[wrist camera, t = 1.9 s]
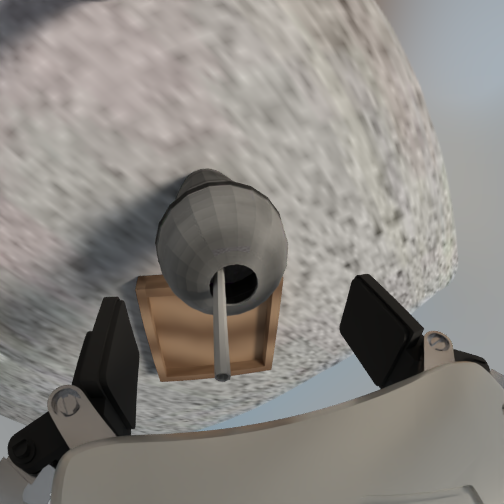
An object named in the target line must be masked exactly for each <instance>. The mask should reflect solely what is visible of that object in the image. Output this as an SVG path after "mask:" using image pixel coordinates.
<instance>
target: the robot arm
mask: <svg viewBox="0 0 504 504" xmlns="http://www.w3.org/2000/svg"><path fill="white" fill-rule="evenodd" d="M423 330H424V328H423V327H422V326H421V325H420V324H419V323H418V322H417V321H416V320H415V319H414V318H413V317H412V315H411V314H410V313H409V312H408V311H407V310H406V309H405V308H404V307H403V306H402V305H401V304H400V303H399V302H398V301H397V300H396V299H395V298H394V297H393V296H391V295H390V294H389V293H388V292H387V291H386V290H385V289H384V288H383V287H382V286H381V285H380V284H379V283H378V282H377V281H376V280H375V279H374V278H373V277H372V276H371V275H369V274H363V275H357V276H356V277H355V278H354V279H353V280H352V282H351V286H350V290H349V294H348V298H347V302H346V305H345V309H344V313H343V316H342V320H341V323H340V333H341V335H342V336H343V338H344V339H345V340H346V342H347V343H348V345H349V346H350V348H351V349H352V351H353V352H354V354H355V355H356V357H357V358H358V360H359V361H360V362H361V364H362V365H363V367H364V368H365V370H366V371H367V373H368V374H369V376H370V377H371V379H372V380H373V382H374V383H375V385H376V386H379V387H380V388H381V389H380V390H378V391H375V392H372V393H370V394H367V395H364V396H361V397H358V398H355V399H352V400H350V401H346V402H343V403H340V404H337V405H334V406H330V407H327V408H323V409H320V410H316V411H312V412H309V413H305V414H301V415H296V416H292V417H288V418H284V419H279V420H274V421H269V422H264V423H258V424H253V425H247V426H241V427H234V428H226V429H219V430H210V431H199V432H188V433H174V434H151V435H131V429H135V425H136V398H137V382H138V369H139V350H138V347H137V344H136V341H135V338H134V334H133V331H132V327H131V324H130V320H129V317H128V313H127V309H126V306H125V302H124V301H123V300H120V299H119V297H104V299H103V301H102V304H101V307H100V310H99V313H98V316H97V319H96V322H95V325H94V328H93V331H89V332H88V333H87V334H86V336H85V340H84V343H83V346H82V349H81V353H80V356H79V359H78V363H77V366H76V370H75V374H74V378H73V382H72V385H63V386H60V387H58V388H56V389H55V390H54V391H53V392H52V393H51V394H50V396H49V398H48V401H47V407H48V412H47V413H45V414H44V415H42V416H41V417H39V418H38V419H36V420H35V421H33V422H32V423H31V424H29V425H28V426H26V427H25V428H23V429H22V430H20V431H19V432H17V433H16V434H14V436H12V437H11V439H10V441H9V443H8V455H9V456H8V458H7V459H5V458H4V457H3V458H2V460H1V461H0V504H48V502H49V500H50V499H51V501H50V504H504V375H502V374H500V373H498V372H497V371H495V370H493V369H491V370H490V369H489V366H488V364H487V362H486V361H485V360H484V359H483V358H481V357H479V356H476V355H472V354H469V353H465V352H462V351H458V350H455V349H453V345H452V342H451V340H450V339H449V338H448V337H447V336H446V335H445V334H443V333H441V332H438V331H429V332H427V333H426V334H425V335H424V336H423V335H422V332H423ZM50 493H51V496H50Z"/></svg>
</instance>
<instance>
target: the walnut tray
mask: <svg viewBox="0 0 504 504" xmlns="http://www.w3.org/2000/svg"><path fill="white" fill-rule="evenodd" d="M282 286H283V276H282V279H281V281H280V283H279V286H278V287H277V288H276V289H275V291H274V292H273V293H272V294H271V295H270V297H269V298H268V299H267V300H266V301H264V302H263V303H261V304H260V305H259V306H257V307H256V308H254V309H252V310H250V311H247V312H245V313H242V314H239V315H232V316H227V329H228V344H229V358H230V371H231V376H233V375H240V374H247V373H254V372H260V371H266V370H271V368H272V361H273V354H274V347H275V340H276V333H277V325H278V318H279V310H280V302H281V294H282ZM135 291H136V295H137V299H138V304H139V308H140V312H141V316H142V320H143V324H144V328H145V332H146V335H147V339H148V343H149V346H150V350H151V353H152V356H153V360H154V363H155V366H156V369H157V372H158V375H159V378H160V381H161V382H168V381H183V380H196V379H207V378H215V374H214V332H213V315H209V314H205V313H203V312H200V311H198V310H195V309H193V308H191V307H189V306H188V305H187V304H186V303H184V302H183V301H182V300H181V299H180V298H178V297H177V296H176V295H175V294H174V293H173V291H172V290H171V288H170V287H169V285H168V283H167V281H166V280H165V278H164V276H163V275H151V276H138V280H137V284H136V289H135Z"/></svg>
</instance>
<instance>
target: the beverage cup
mask: <svg viewBox="0 0 504 504" xmlns="http://www.w3.org/2000/svg"><path fill="white" fill-rule="evenodd" d="M155 244H156V250H157V256H158V262H159V264H160V267H161V271H162V274H163V276H164V278H165V280H166V281H167V283H168V285H169V287H170V288H171V290H172V291H173V293H174V294H175V295H176V296H177V297H178V298H180V299H181V300H182V301H183V302H184V303H186V304H187V305H188V306H189V307H191V308H193V309H195V310H198V311H200V312H203V313H205V314H209V315H213V332H214V374H215V379H216V380H218V381H224V382H225V381H227V380H230V377H231V371H230V358H229V344H228V329H227V316H232V315H239V314H242V313H245V312H247V311H250V310H252V309H254V308H256V307H257V306H259V305H260V304H261V303H263V302H264V301H266V300H267V299H268V298H269V297H270V295H271V294H272V293H273V292H274V291H275V289H276V288H277V287H278V286H279V283H280V281H281V279H282V276H283V274H284V271H285V269H286V266H287V254H288V242H287V238H286V235H285V231H284V228H283V224H282V221H281V218H280V214H279V212H278V211H277V209H276V208H275V207H274V205H273V204H272V203H271V201H270V200H269V198H268V197H266V196H265V195H263V194H262V193H260V192H259V191H257V190H256V189H254V188H253V187H251V186H248V185H245V184H241V183H237V182H234V181H232V180H231V179H229V178H228V177H227V176H225V175H223V174H222V173H220V172H219V171H216V170H212V169H200V170H197V171H195V172H193V173H192V174H191V175H189V176H188V177H187V179H186V180H185V182H184V183H183V185H182V186H181V188H180V191H179V193H178V196H177V198H176V200H175V201H174V202H173V203H172V204H171V205H170V206H169V207H168V209H167V211H166V212H165V214H164V216H163V217H162V219H161V221H160V223H159V226H158V231H157V237H156V242H155Z"/></svg>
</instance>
